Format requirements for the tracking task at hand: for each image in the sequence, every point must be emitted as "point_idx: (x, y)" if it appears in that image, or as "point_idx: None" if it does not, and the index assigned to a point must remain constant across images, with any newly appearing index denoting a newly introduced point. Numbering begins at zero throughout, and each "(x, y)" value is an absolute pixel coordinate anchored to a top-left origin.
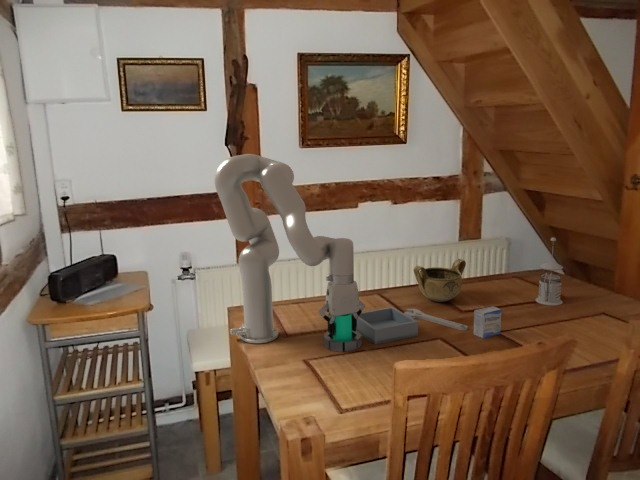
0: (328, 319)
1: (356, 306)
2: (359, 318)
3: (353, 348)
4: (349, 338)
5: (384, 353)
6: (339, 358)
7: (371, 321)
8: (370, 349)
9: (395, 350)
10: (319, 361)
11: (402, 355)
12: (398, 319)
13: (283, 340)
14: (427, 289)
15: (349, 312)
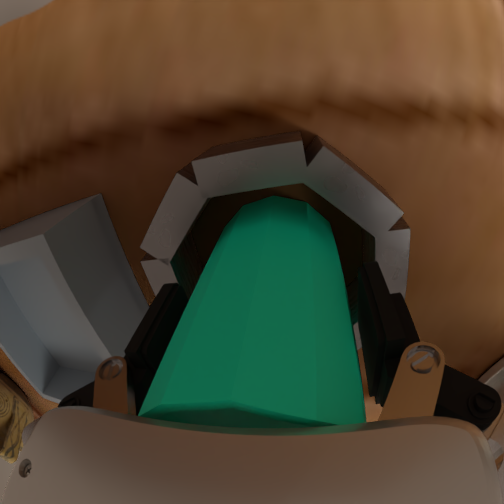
0: (449, 389)
1: (38, 465)
2: None
3: (231, 144)
4: (235, 229)
5: (76, 73)
6: (364, 50)
7: None
8: (130, 133)
9: (33, 109)
10: (480, 72)
11: (24, 55)
12: (28, 342)
13: (488, 349)
14: (5, 406)
15: (147, 439)
